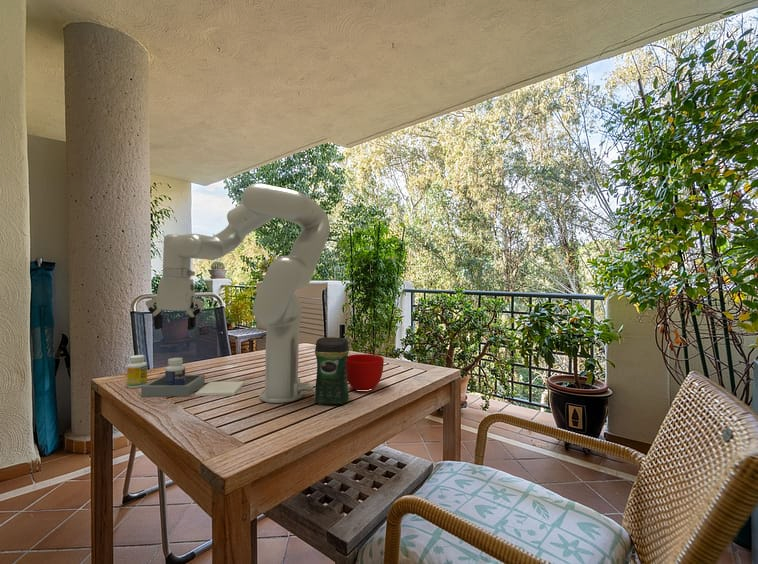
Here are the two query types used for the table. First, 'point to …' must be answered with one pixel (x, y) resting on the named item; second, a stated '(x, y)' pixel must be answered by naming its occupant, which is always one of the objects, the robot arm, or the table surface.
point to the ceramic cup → (364, 370)
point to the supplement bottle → (136, 372)
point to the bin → (173, 387)
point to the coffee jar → (331, 371)
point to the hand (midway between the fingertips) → (174, 329)
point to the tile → (220, 388)
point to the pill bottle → (175, 372)
